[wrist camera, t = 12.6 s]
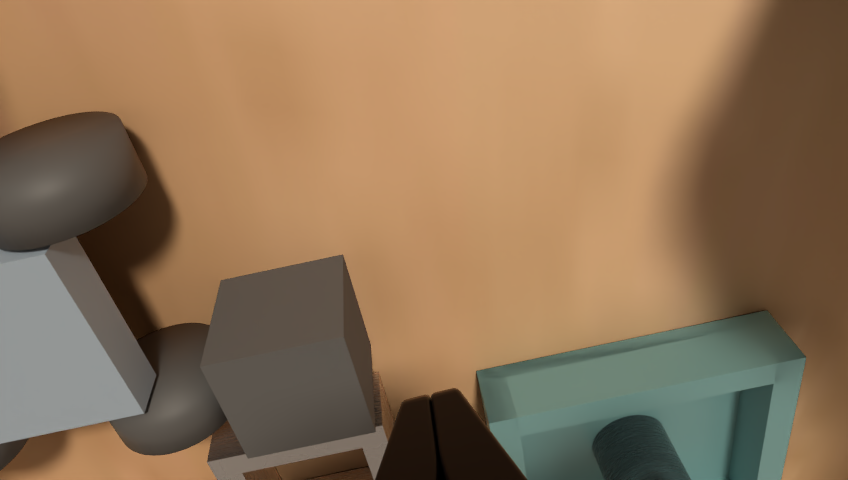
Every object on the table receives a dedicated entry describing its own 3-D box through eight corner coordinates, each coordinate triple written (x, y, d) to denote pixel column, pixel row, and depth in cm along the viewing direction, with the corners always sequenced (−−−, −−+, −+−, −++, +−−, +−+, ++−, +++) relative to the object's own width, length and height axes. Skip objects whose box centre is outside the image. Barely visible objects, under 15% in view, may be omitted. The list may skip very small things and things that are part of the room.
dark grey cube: (342, 253, 21) (343, 336, 18) (370, 343, 24) (375, 432, 20) (221, 278, 21) (199, 366, 18) (260, 366, 24) (247, 459, 20)
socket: (378, 371, 24) (382, 425, 22) (409, 472, 28) (415, 527, 26) (218, 405, 24) (206, 462, 22) (268, 501, 28) (263, 558, 26)
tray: (766, 310, 25) (806, 357, 23) (742, 474, 30) (771, 524, 28) (476, 371, 25) (489, 423, 23) (505, 523, 30) (517, 576, 28)
